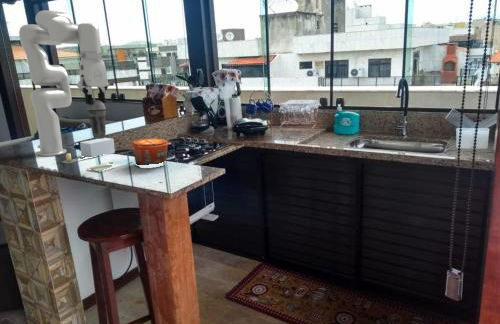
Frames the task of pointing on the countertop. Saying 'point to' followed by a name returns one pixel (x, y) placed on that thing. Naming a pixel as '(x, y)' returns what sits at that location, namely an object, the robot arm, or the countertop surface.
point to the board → (101, 166)
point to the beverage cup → (97, 118)
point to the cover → (97, 147)
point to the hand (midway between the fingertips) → (95, 103)
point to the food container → (150, 151)
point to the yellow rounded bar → (69, 160)
